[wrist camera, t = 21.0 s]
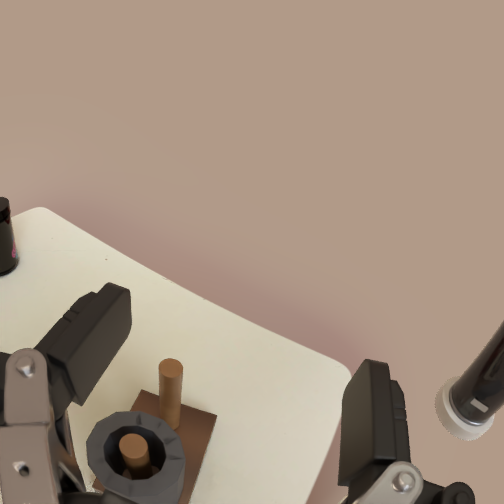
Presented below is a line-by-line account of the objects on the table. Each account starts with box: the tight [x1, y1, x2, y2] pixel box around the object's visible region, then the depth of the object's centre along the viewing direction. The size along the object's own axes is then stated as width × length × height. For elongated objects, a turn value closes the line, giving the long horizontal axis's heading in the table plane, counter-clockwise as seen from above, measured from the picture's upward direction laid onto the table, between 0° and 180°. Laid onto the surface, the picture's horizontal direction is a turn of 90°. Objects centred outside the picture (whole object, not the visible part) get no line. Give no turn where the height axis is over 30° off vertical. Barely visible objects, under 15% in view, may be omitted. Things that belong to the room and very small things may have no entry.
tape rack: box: [92, 358, 217, 504], centre depth 22 cm, size 12×8×10 cm, turn 169°
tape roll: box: [86, 411, 186, 504], centre depth 19 cm, size 6×6×8 cm
